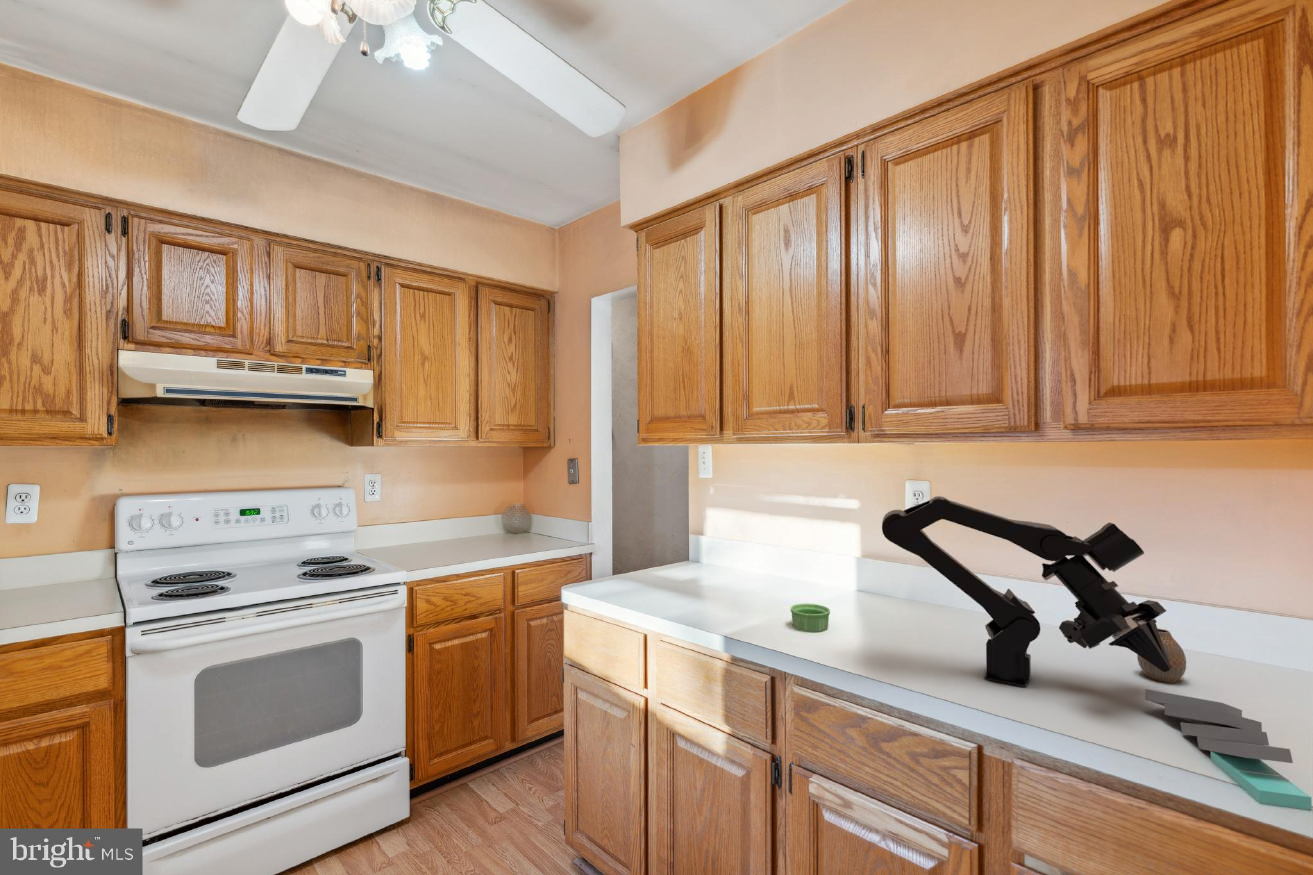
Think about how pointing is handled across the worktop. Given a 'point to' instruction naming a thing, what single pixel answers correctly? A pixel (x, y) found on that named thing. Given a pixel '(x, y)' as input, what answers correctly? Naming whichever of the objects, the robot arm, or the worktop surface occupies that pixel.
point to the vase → (1174, 656)
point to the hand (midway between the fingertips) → (1168, 670)
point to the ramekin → (810, 617)
